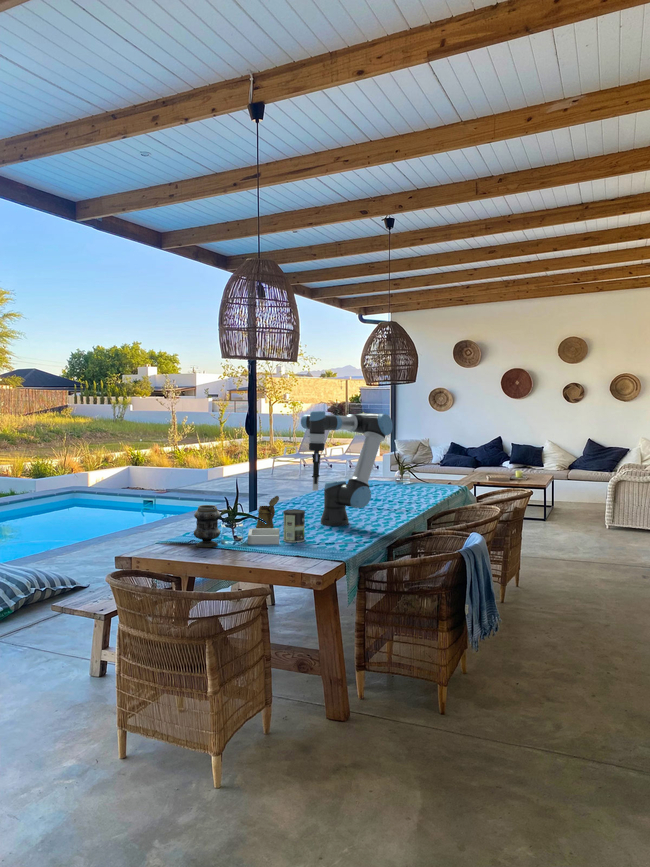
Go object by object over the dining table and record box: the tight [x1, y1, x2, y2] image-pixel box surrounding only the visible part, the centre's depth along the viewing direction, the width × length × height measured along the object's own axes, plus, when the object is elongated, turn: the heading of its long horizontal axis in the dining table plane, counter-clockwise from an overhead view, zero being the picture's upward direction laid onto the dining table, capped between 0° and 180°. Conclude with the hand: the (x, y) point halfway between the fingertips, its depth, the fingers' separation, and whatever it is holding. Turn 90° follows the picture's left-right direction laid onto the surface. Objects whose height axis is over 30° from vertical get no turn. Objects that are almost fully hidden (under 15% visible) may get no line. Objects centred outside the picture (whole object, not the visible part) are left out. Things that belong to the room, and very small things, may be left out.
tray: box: [247, 527, 280, 545], centre depth 295 cm, size 14×16×4 cm
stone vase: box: [193, 504, 221, 548], centre depth 283 cm, size 12×12×18 cm
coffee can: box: [282, 508, 306, 544], centre depth 295 cm, size 10×10×14 cm
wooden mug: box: [255, 495, 280, 529], centre depth 321 cm, size 9×14×18 cm, turn 50°
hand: (315, 490), depth 304 cm, fingers closed
